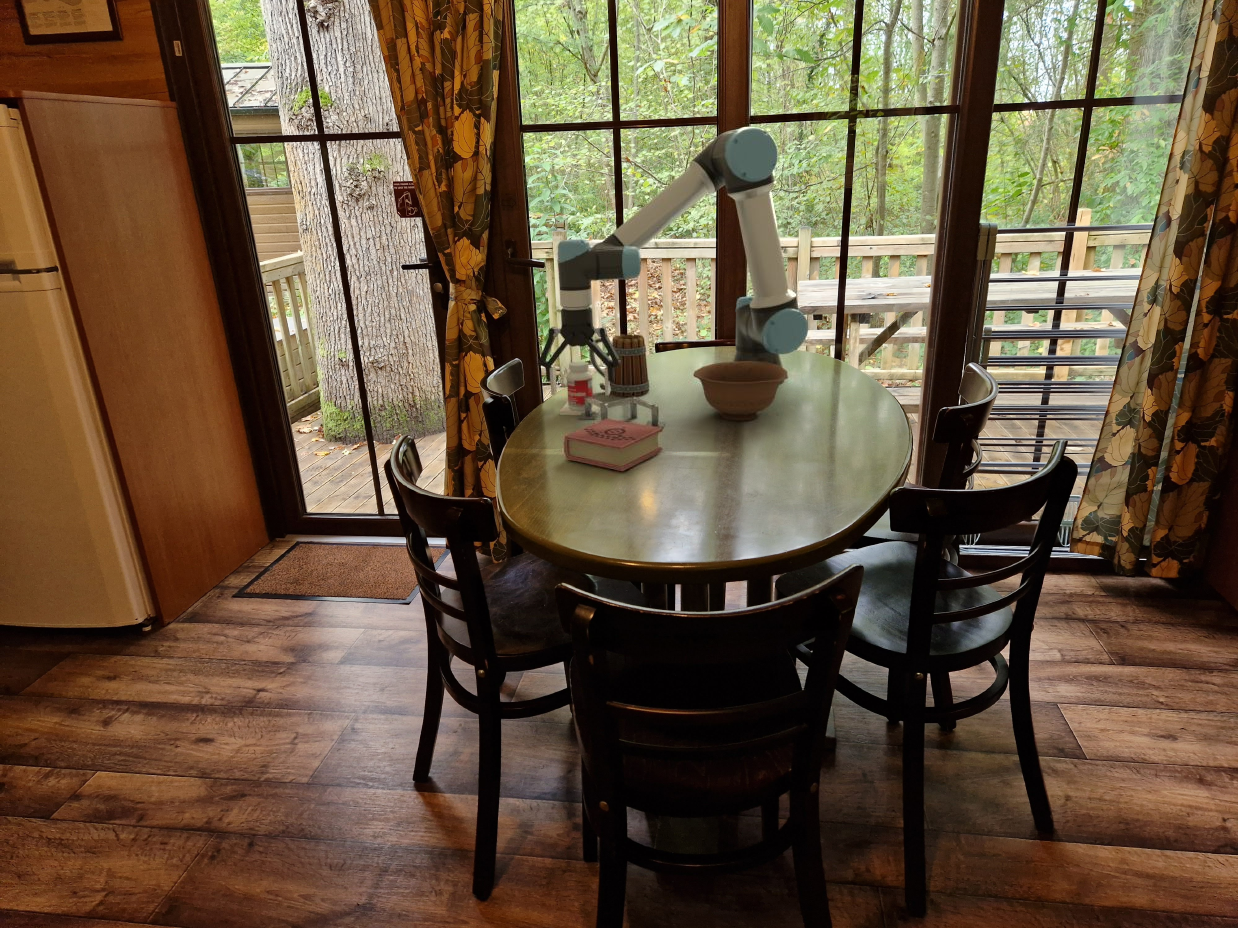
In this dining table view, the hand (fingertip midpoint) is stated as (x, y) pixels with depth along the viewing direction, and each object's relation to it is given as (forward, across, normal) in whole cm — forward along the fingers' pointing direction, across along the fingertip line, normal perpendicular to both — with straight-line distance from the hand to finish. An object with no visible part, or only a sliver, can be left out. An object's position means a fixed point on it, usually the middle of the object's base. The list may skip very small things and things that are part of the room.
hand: (580, 393), depth 194 cm
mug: (+4, -7, -18) cm, 20 cm away
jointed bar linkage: (+4, -12, +9) cm, 16 cm away
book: (+5, -13, +32) cm, 35 cm away
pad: (+4, 0, 0) cm, 4 cm away
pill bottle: (+3, 0, +1) cm, 4 cm away
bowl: (+4, -39, +3) cm, 39 cm away
